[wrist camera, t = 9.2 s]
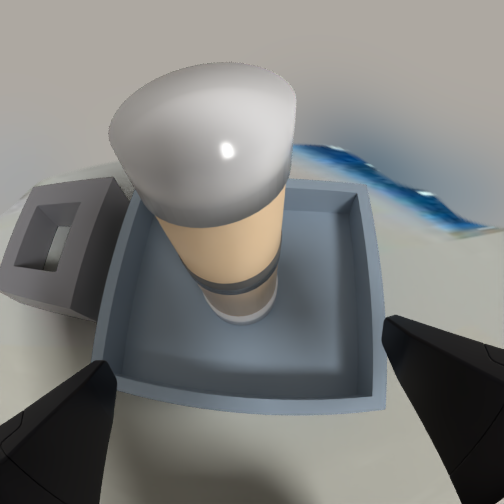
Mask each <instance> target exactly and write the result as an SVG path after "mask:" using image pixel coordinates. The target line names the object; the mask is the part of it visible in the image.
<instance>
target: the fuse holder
mask: <svg viewBox="0 0 504 504" xmlns="http://www.w3.org/2000/svg"><path fill="white" fill-rule="evenodd" d="M129 203H130V202H129V201H128V199H127V197H126V196H125V194H124V193H123V191H122V190H121V188H120V186H119V185H118V183H117V181H116V180H115V178H114V177H106V178H96V179H87V180H79V181H71V182H63V183H56V184H50V185H43V186H37V187H33V189H32V191H31V193H30V195H29V197H28V199H27V201H26V203H25V205H24V207H23V209H22V212H21V214H20V216H19V218H18V221H17V223H16V225H15V228H14V230H13V233H12V235H11V238H10V240H9V243H8V246H7V248H6V251H5V254H4V257H3V260H2V263H1V266H0V292H1V293H3V294H4V295H6V296H8V297H10V298H12V299H14V300H16V301H18V302H19V303H23V304H26V305H29V306H33V307H36V308H40V309H44V310H47V311H51V312H55V313H59V314H63V315H67V316H71V317H76V318H80V319H84V320H89V321H94V322H97V321H98V316H99V311H100V306H101V302H102V297H103V293H104V288H105V284H106V280H107V276H108V272H109V268H110V264H111V261H112V257H113V254H114V250H115V247H116V243H117V240H118V237H119V233H120V230H121V227H122V224H123V221H124V218H125V215H126V212H127V209H128V206H129ZM58 226H71V228H70V231H69V234H68V236H67V239H66V242H65V245H64V248H63V251H62V254H61V257H60V260H59V263H58V266H57V270H56V272H51V271H43V267H44V264H45V261H46V258H47V255H48V252H49V249H50V246H51V243H52V240H53V238H54V235H55V232H56V230H57V227H58Z"/></svg>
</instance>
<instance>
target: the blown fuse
mask: <svg viewBox="0 0 504 504" xmlns="http://www.w3.org/2000/svg"><path fill="white" fill-rule="evenodd" d="M295 115H296V95H295V92H294V90H293V88H292V87H291V85H290V84H289V83H288V82H287V81H286V80H285V79H284V78H282V77H281V76H280V75H278V74H276V73H274V72H272V71H270V70H268V69H265V68H262V67H259V66H255V65H250V64H244V63H232V62H219V63H207V64H200V65H195V66H191V67H186V68H183V69H179V70H176V71H173V72H171V73H168V74H166V75H163V76H161V77H159V78H157V79H155V80H153V81H151V82H149V83H148V84H146V85H144V86H143V87H141V88H140V89H138V90H137V91H136V92H135V93H133V94H132V95H131V96H130V97H129V98H128V99H127V100H125V101H124V103H123V104H122V105H121V106H120V107H119V109H118V110H117V111H116V113H115V115H114V116H113V118H112V120H111V123H110V126H109V133H108V134H109V141H110V144H111V146H112V148H113V150H114V152H115V154H116V155H117V157H118V159H119V161H120V163H121V165H122V167H123V168H124V170H125V172H126V174H127V176H128V177H129V179H130V181H131V183H132V184H133V186H134V188H135V190H136V191H137V193H138V195H139V197H140V198H141V200H142V202H143V203H144V205H145V206H146V207H147V209H149V210H150V211H151V212H152V213H153V214H154V215H155V216H156V218H157V220H158V221H159V223H160V225H161V227H162V228H163V230H164V232H165V233H166V235H167V237H168V238H169V240H170V241H171V243H172V245H173V246H174V248H175V250H176V251H177V253H178V255H179V257H180V260H181V261H182V263H183V265H184V266H185V268H186V269H187V271H188V272H189V274H190V276H191V277H192V278H193V279H194V281H195V282H196V283H197V284H198V286H199V287H200V289H201V290H202V292H203V295H204V297H205V299H206V301H207V302H208V304H209V305H210V307H211V308H212V310H213V311H214V312H215V314H216V315H217V316H218V317H219V318H221V319H222V320H223V321H225V322H227V323H230V324H233V325H239V326H245V325H251V324H254V323H256V322H258V321H260V320H262V319H263V318H264V317H266V316H267V315H268V313H269V312H270V311H271V309H272V308H273V306H274V303H275V300H276V294H277V287H278V277H277V270H278V262H279V259H280V253H281V244H282V220H283V209H284V198H285V186H286V183H287V180H288V178H289V175H290V170H291V162H292V151H293V139H294V127H295Z"/></svg>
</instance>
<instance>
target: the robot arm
mask: <svg viewBox="0 0 504 504" xmlns="http://www.w3.org/2000/svg"><path fill="white" fill-rule="evenodd" d="M381 341H382V345H383V348H384V350H385V352H386V354H387V356H388V358H389V361H390V363H391V365H392V367H393V370H394V372H395V374H396V376H397V378H398V381H399V382H400V384H401V386H402V388H403V389H404V391H405V393H406V395H407V396H408V398H409V400H410V402H411V403H412V405H413V407H414V409H415V411H416V412H417V414H418V416H419V418H420V420H421V421H422V423H423V425H424V427H425V429H426V431H427V433H428V434H429V436H430V438H431V440H432V442H433V444H434V446H435V448H436V450H437V452H438V454H439V456H440V458H441V460H442V462H443V464H444V466H445V468H446V470H447V472H448V474H449V475H450V476H449V477H450V479H451V481H452V483H453V485H454V487H455V490H456V492H457V494H458V496H459V499H460V501H461V503H462V504H496V503H497V502H499V501H500V500H501V499H503V498H504V349H501V348H497V347H494V346H491V345H488V344H483V343H481V342H478V341H475V340H472V339H469V338H466V337H462V336H459V335H456V334H453V333H450V332H447V331H444V330H441V329H438V328H435V327H432V326H429V325H425V324H422V323H419V322H416V321H413V320H410V319H407V318H404V317H401V316H398V315H393V316H389V317H386V318H385V319H384V322H383V329H382V337H381ZM116 392H117V379H116V377H115V375H114V373H113V371H112V369H111V367H110V365H109V364H108V362H107V361H105V360H95V361H93V362H92V363H90V364H89V365H87V366H86V367H85V368H83V369H82V370H80V371H79V372H77V373H76V374H75V375H73V376H72V377H70V378H69V379H67V380H66V381H65V382H63V383H62V384H60V385H59V386H57V387H56V388H54V389H53V390H52V391H50V392H49V393H47V394H46V395H44V396H43V397H42V398H40V399H39V400H37V401H36V402H34V403H33V404H32V405H30V406H29V407H27V408H26V409H25V410H24V411H21V412H20V413H19V414H17V415H16V416H14V417H13V418H11V419H10V420H8V421H7V422H5V423H3V424H2V425H0V504H99V502H100V493H101V486H102V479H103V472H104V466H105V460H106V454H107V449H108V443H109V438H110V433H111V429H112V423H113V417H114V408H115V399H116Z"/></svg>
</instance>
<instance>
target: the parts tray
mask: <svg viewBox="0 0 504 504" xmlns="http://www.w3.org/2000/svg"><path fill="white" fill-rule="evenodd" d="M277 277H278V287H277V294H276V300H275V303H274V306H273V308H272V309H271V311H270V312H269V313H268V315H267V316H266V317H264V318H263V319H262V320H260V321H258V322H256V323H254V324H251V325H245V326H239V325H233V324H230V323H227V322H225V321H223V320H222V319H221V318H219V317H218V316H217V315H216V314H215V312H214V311H213V310H212V308H211V307H210V305H209V304H208V302H207V301H206V299H205V297H204V295H203V292H202V290H201V289H200V287H199V286H198V284H197V283H196V282H195V281H194V279H193V278H192V277H191V276H190V274H189V272H188V271H187V269H186V268H185V266H184V265H183V263H182V261H181V260H180V257H179V255H178V253H177V251H176V250H175V248H174V246H173V245H172V243H171V241H170V240H169V238H168V237H167V235H166V233H165V232H164V230H163V228H162V227H161V225H160V223H159V221H158V220H157V218H156V216H155V215H154V214H153V213H152V212H151V211H150V210H149V209H147V207H146V206H145V205H144V203H143V202H142V200H141V198H140V197H139V195H138V193H137V191H136V190H134V192H133V195H132V198H131V201H130V203H129V206H128V209H127V212H126V215H125V218H124V221H123V224H122V227H121V230H120V233H119V237H118V240H117V243H116V247H115V250H114V254H113V257H112V261H111V264H110V268H109V272H108V276H107V280H106V284H105V288H104V293H103V297H102V302H101V306H100V311H99V316H98V321H97V327H96V332H95V338H94V345H93V351H92V358H91V363H92V362H93V361H95V360H105V361H107V362H108V364H109V365H110V367H111V369H112V371H113V373H114V375H115V377H116V379H117V391H121V392H124V393H128V394H132V395H136V396H140V397H144V398H148V399H153V400H157V401H162V402H167V403H172V404H178V405H183V406H189V407H196V408H202V409H210V410H217V411H226V412H236V413H248V414H265V415H330V414H346V413H358V412H368V411H376V410H384V409H385V408H386V384H387V354H386V352H385V350H384V348H383V345H382V341H381V337H382V329H383V322H384V319H385V306H384V294H383V284H382V275H381V266H380V258H379V251H378V244H377V238H376V232H375V226H374V220H373V215H372V209H371V204H370V199H369V195H368V190H367V185H364V184H354V183H343V182H332V181H319V180H304V179H288V180H287V183H286V186H285V198H284V209H283V220H282V244H281V253H280V259H279V262H278V270H277Z"/></svg>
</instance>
